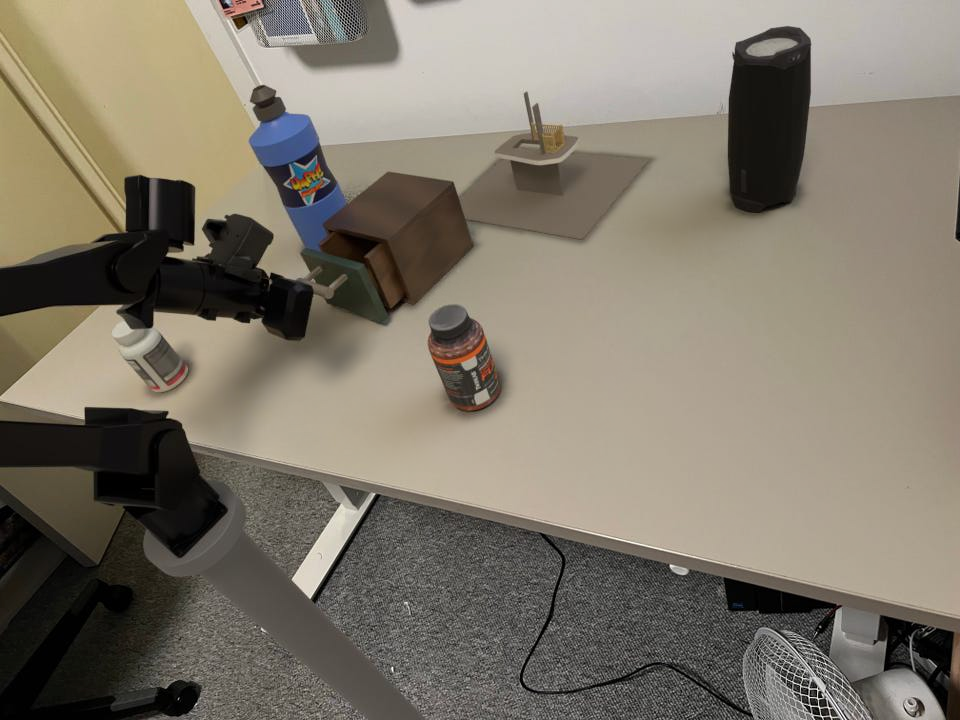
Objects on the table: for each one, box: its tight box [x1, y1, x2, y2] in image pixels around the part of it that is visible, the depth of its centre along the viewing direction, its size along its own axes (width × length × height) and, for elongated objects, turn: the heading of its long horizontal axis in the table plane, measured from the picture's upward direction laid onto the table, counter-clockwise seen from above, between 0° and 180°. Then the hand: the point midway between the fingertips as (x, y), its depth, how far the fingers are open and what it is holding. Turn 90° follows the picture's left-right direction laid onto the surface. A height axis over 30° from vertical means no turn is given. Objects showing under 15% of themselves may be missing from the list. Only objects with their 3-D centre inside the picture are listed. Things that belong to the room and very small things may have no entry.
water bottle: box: [248, 84, 348, 252], centre depth 94 cm, size 9×9×25 cm
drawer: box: [296, 231, 406, 324], centre depth 84 cm, size 17×11×9 cm
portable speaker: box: [727, 25, 812, 213], centre depth 75 cm, size 9×9×20 cm
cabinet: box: [322, 171, 474, 306], centre depth 87 cm, size 14×13×11 cm
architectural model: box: [459, 91, 649, 240], centre depth 93 cm, size 21×25×14 cm
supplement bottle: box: [427, 303, 501, 412], centre depth 66 cm, size 6×6×11 cm
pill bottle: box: [111, 319, 189, 393], centre depth 83 cm, size 5×5×10 cm
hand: (310, 301), depth 79 cm, fingers closed
